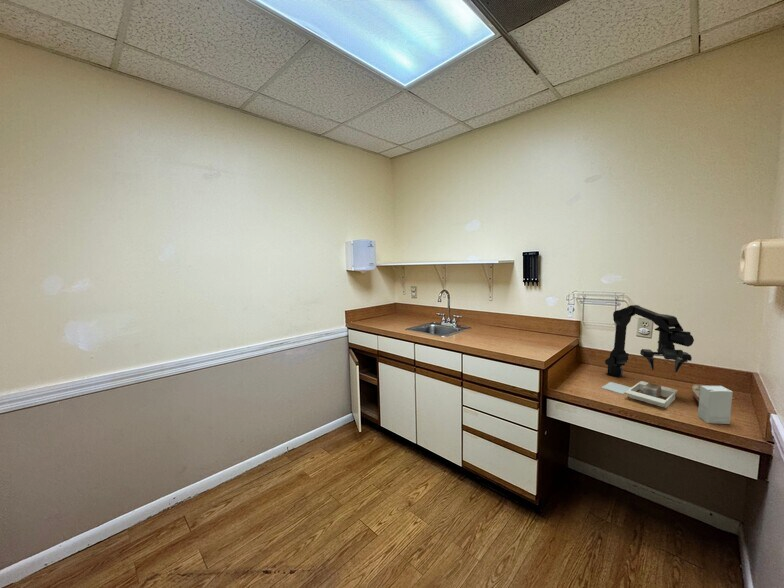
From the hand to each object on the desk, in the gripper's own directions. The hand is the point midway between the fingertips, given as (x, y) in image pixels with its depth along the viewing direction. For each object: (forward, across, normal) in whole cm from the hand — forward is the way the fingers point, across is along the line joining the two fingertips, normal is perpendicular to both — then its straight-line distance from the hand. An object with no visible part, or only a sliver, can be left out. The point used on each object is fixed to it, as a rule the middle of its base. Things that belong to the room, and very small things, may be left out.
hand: (663, 371), depth 158 cm
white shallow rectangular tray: (+13, -6, -5) cm, 15 cm away
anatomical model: (+13, +16, -2) cm, 21 cm away
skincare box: (+13, +10, -22) cm, 28 cm away
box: (+13, -6, -5) cm, 15 cm away
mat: (+13, -19, +3) cm, 23 cm away
